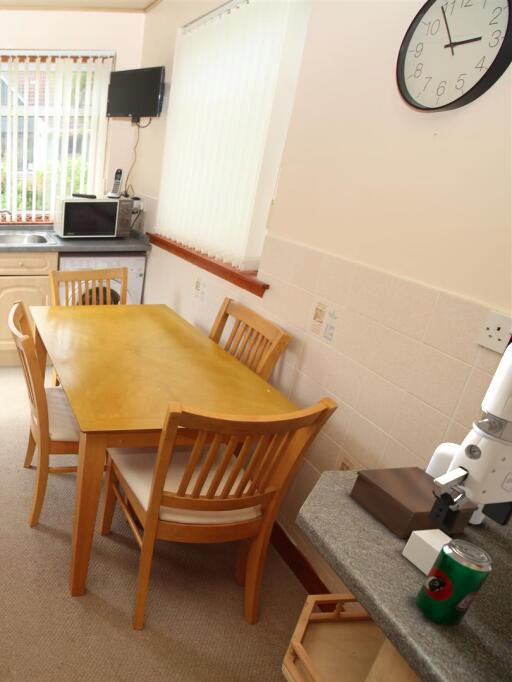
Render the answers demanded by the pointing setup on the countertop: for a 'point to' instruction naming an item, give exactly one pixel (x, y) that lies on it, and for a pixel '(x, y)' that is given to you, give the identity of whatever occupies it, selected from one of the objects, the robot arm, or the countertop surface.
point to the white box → (425, 548)
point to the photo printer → (441, 466)
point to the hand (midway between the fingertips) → (466, 522)
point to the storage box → (403, 500)
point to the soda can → (453, 582)
